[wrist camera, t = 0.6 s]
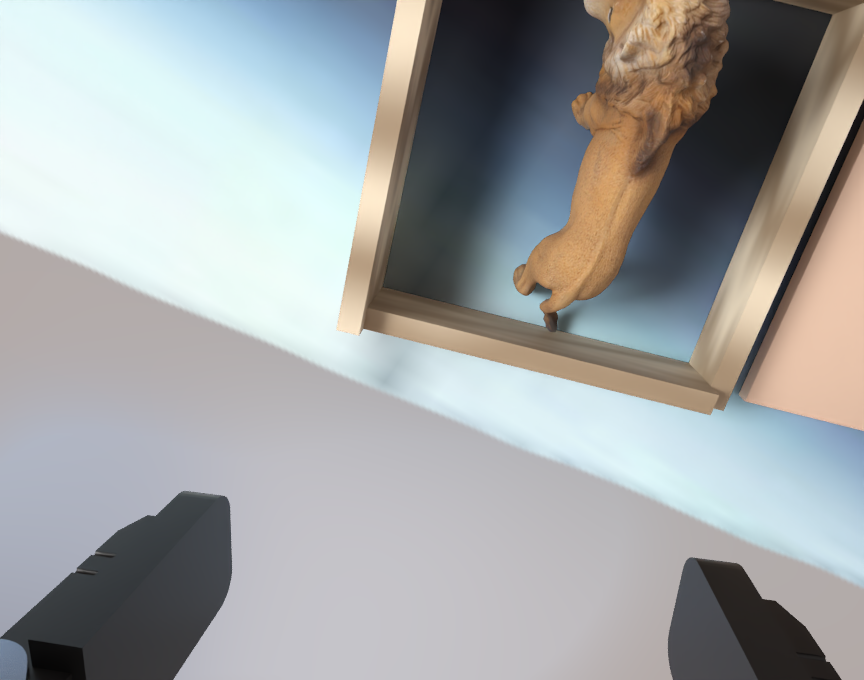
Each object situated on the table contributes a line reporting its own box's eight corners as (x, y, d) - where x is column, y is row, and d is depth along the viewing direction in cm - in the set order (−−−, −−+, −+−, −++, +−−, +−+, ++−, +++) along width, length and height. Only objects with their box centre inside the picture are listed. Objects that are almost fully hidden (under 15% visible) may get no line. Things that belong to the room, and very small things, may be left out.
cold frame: (440, -111, 24) (429, -175, 19) (867, -7, 23) (964, -46, 19) (360, 300, 29) (336, 330, 25) (700, 385, 29) (741, 430, 25)
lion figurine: (565, -6, 24) (608, -88, 16) (690, 12, 24) (801, -60, 16) (501, 320, 29) (508, 390, 21) (605, 337, 29) (656, 415, 21)
